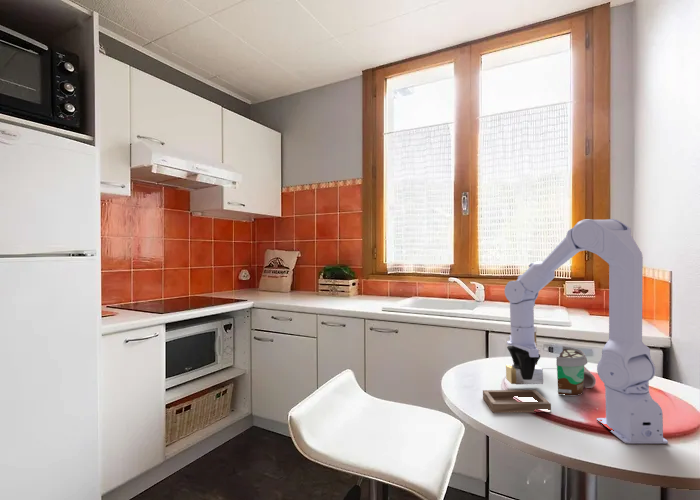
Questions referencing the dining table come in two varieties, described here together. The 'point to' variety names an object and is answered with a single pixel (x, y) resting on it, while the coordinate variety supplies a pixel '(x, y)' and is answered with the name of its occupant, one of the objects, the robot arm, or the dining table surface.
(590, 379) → the coil
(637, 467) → the dining table surface
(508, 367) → the white yellow block
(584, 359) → the food container
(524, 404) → the wooden tray
